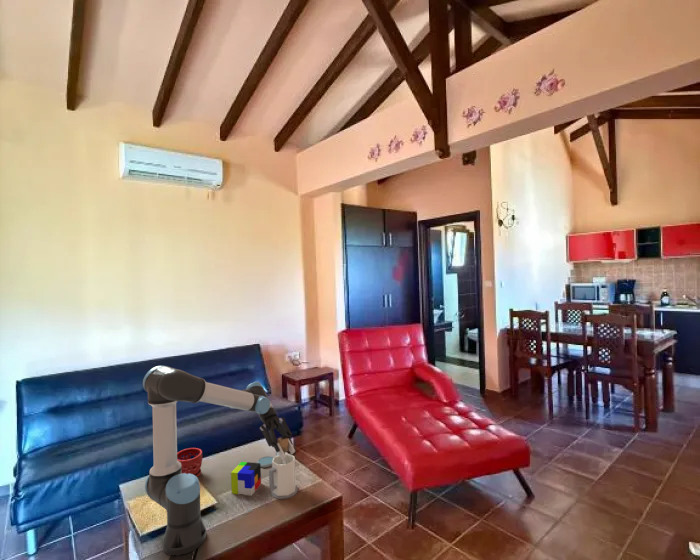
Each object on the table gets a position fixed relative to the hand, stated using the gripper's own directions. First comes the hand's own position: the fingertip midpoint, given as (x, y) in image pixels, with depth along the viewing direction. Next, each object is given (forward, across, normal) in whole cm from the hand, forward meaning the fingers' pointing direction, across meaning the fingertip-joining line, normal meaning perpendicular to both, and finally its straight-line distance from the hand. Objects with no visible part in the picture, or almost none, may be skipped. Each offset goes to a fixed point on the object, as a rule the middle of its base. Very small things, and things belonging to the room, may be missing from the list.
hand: (288, 455), depth 172 cm
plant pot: (-24, +23, -50) cm, 60 cm away
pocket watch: (-10, -10, -36) cm, 38 cm away
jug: (+10, 0, -16) cm, 19 cm away
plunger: (+8, 0, -14) cm, 16 cm away
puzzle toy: (-1, +10, -27) cm, 29 cm away
